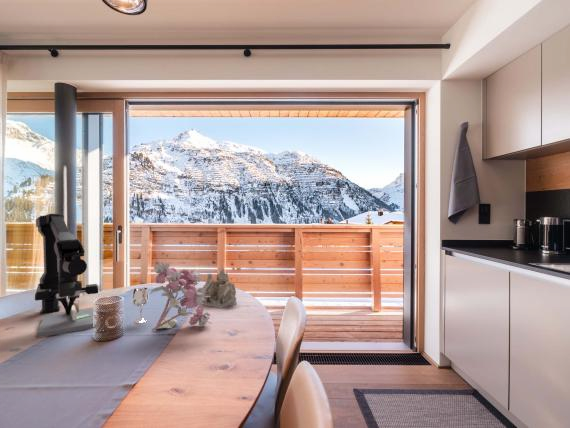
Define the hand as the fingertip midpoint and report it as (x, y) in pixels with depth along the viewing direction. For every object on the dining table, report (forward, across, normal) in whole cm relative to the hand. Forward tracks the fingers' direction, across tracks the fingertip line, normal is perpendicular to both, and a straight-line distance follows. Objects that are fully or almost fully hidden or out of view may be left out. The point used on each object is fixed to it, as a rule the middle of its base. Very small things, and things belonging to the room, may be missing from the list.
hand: (68, 315), depth 114 cm
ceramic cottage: (+3, +56, -4) cm, 56 cm away
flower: (+4, +36, -26) cm, 45 cm away
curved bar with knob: (+2, +1, +4) cm, 5 cm away
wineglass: (+4, +23, -11) cm, 26 cm away
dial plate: (+3, 0, +2) cm, 4 cm away
